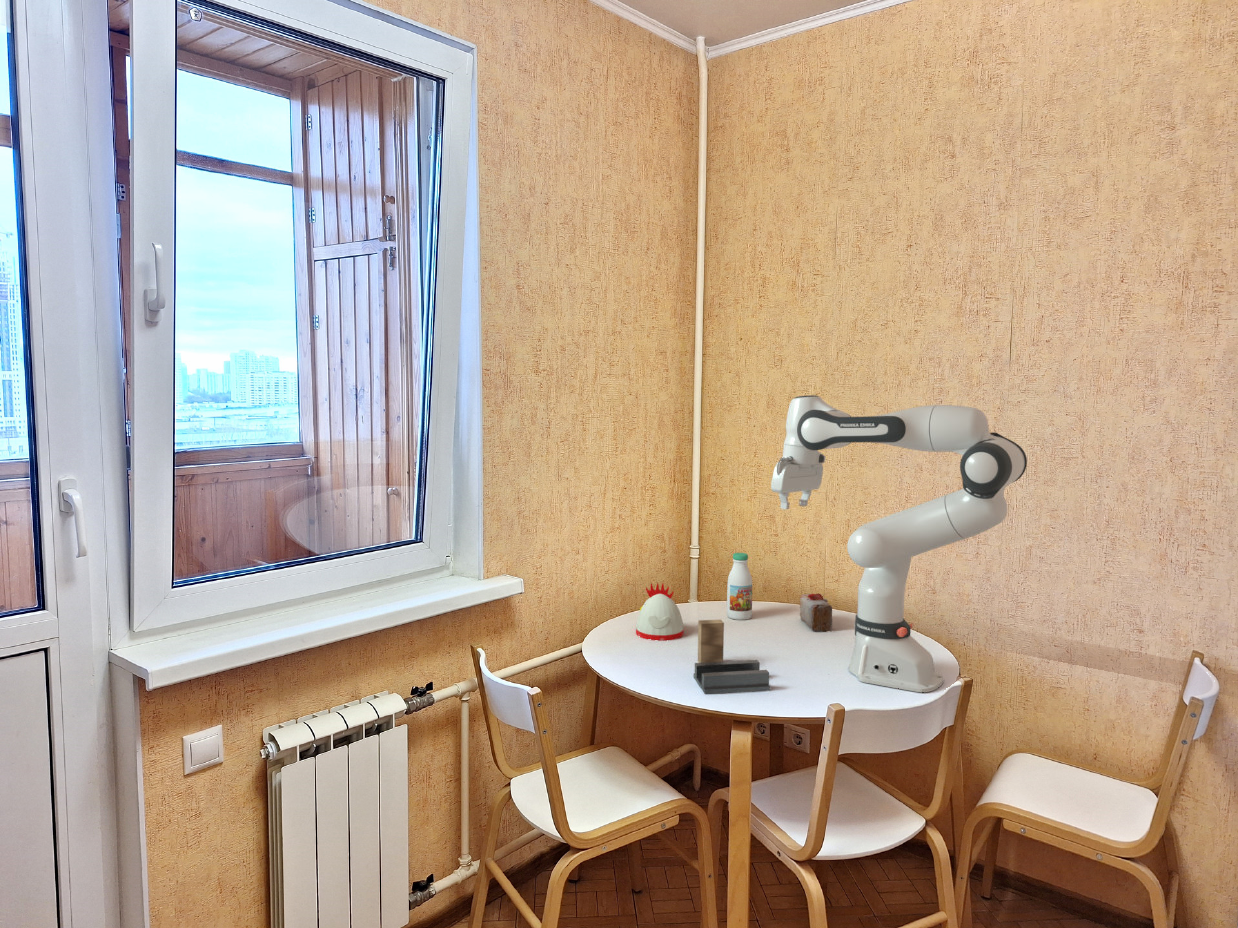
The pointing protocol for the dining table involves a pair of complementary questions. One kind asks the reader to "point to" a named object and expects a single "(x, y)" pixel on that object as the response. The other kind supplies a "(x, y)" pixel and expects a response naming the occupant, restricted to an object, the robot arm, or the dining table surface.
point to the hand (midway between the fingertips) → (793, 507)
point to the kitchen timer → (659, 617)
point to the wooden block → (710, 640)
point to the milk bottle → (739, 589)
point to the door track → (731, 677)
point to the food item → (816, 612)
